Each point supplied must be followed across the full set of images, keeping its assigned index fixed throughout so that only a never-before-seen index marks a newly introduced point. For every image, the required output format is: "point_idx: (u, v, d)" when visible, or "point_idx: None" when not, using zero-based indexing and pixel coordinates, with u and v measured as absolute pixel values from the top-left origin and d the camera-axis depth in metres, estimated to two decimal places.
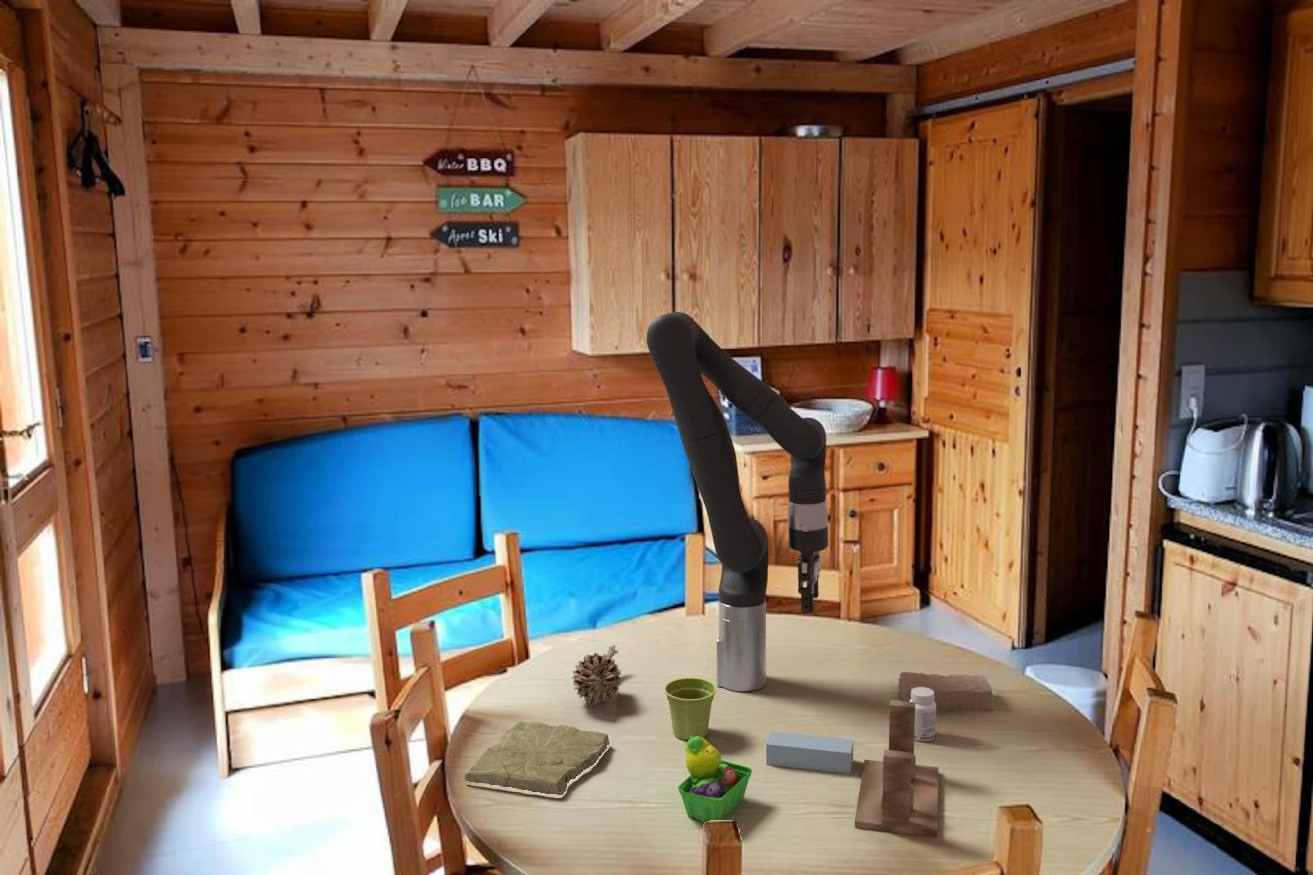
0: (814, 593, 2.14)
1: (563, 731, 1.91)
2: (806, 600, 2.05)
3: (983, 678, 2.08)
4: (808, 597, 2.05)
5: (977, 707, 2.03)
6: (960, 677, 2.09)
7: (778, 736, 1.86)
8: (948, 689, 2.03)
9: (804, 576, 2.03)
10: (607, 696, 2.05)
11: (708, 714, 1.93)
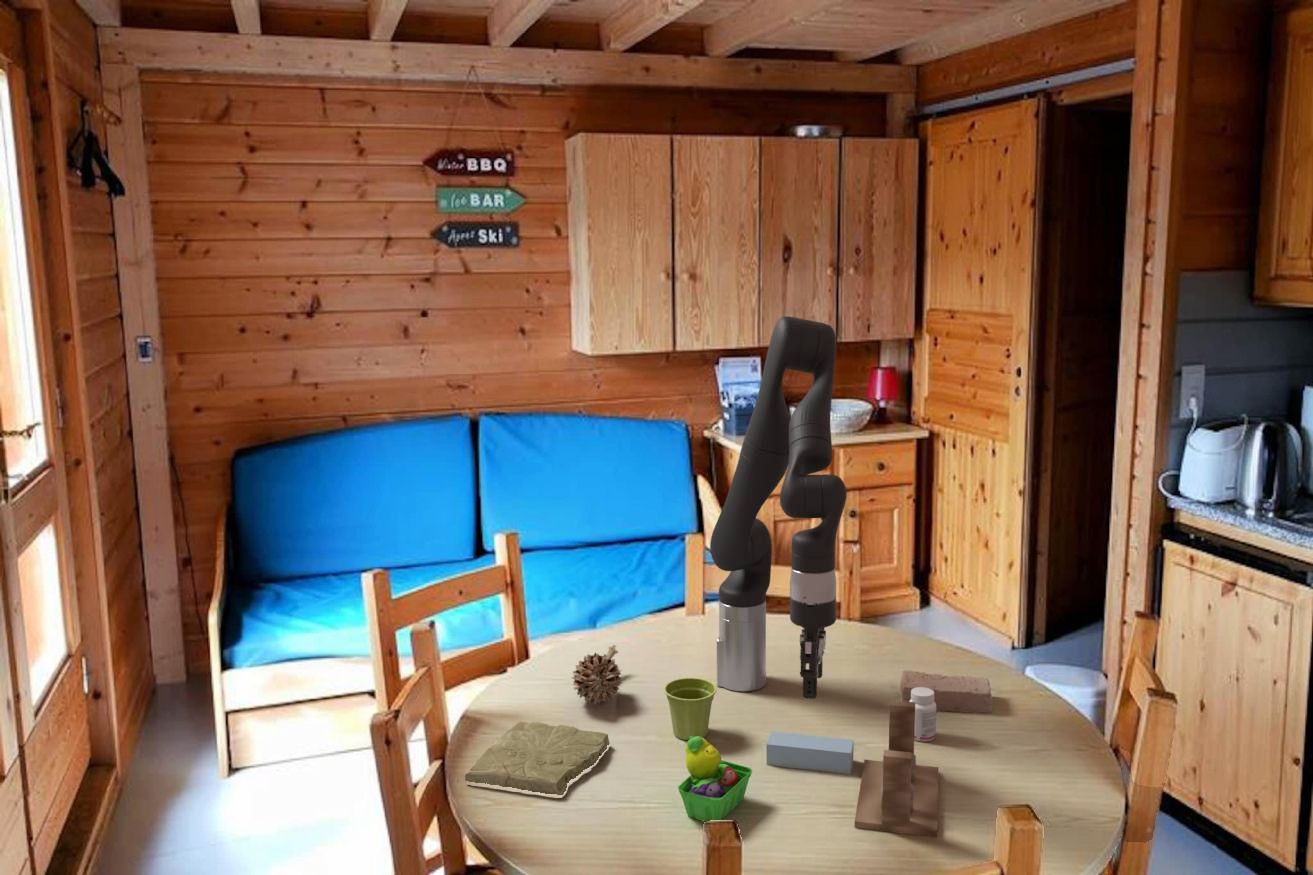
0: (817, 672, 1.85)
1: (563, 730, 1.91)
2: (809, 684, 1.77)
3: (985, 680, 2.07)
4: (811, 681, 1.76)
5: (975, 709, 2.02)
6: (962, 678, 2.08)
7: (778, 736, 1.86)
8: (946, 689, 2.03)
9: (808, 657, 1.74)
10: (607, 696, 2.05)
11: (708, 714, 1.93)
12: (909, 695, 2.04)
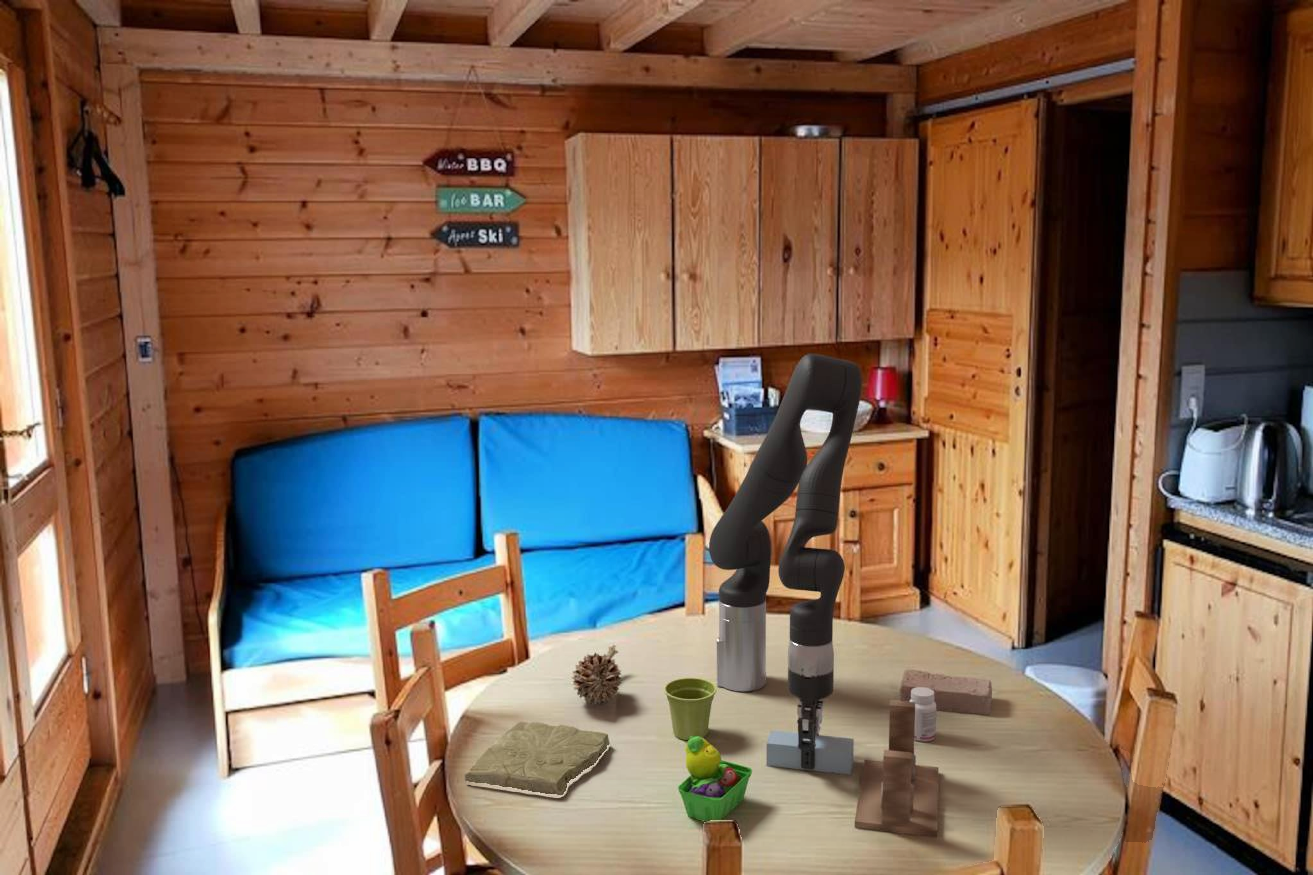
0: None
1: (563, 730, 1.91)
2: (807, 755, 1.80)
3: (987, 682, 2.06)
4: (809, 752, 1.80)
5: (972, 710, 2.02)
6: (964, 679, 2.08)
7: (778, 735, 1.86)
8: (944, 689, 2.03)
9: (805, 734, 1.77)
10: (607, 696, 2.05)
11: (708, 714, 1.93)
12: (907, 693, 2.05)
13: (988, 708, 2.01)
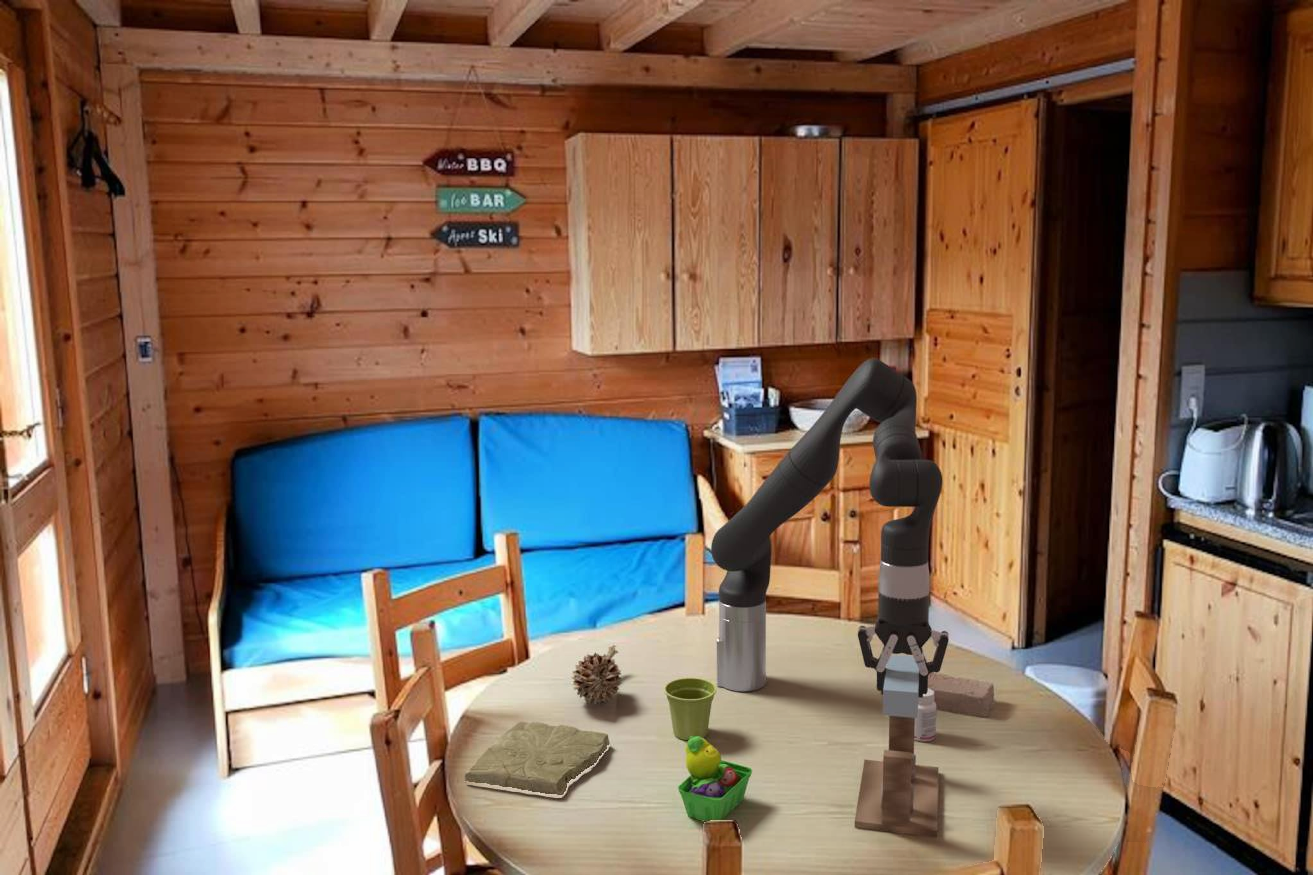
0: None
1: (564, 731, 1.91)
2: None
3: (988, 685, 2.05)
4: None
5: (969, 712, 2.01)
6: (966, 680, 2.07)
7: (908, 659, 1.73)
8: (941, 689, 2.03)
9: None
10: (607, 696, 2.05)
11: (708, 714, 1.93)
12: None
13: (984, 710, 2.00)
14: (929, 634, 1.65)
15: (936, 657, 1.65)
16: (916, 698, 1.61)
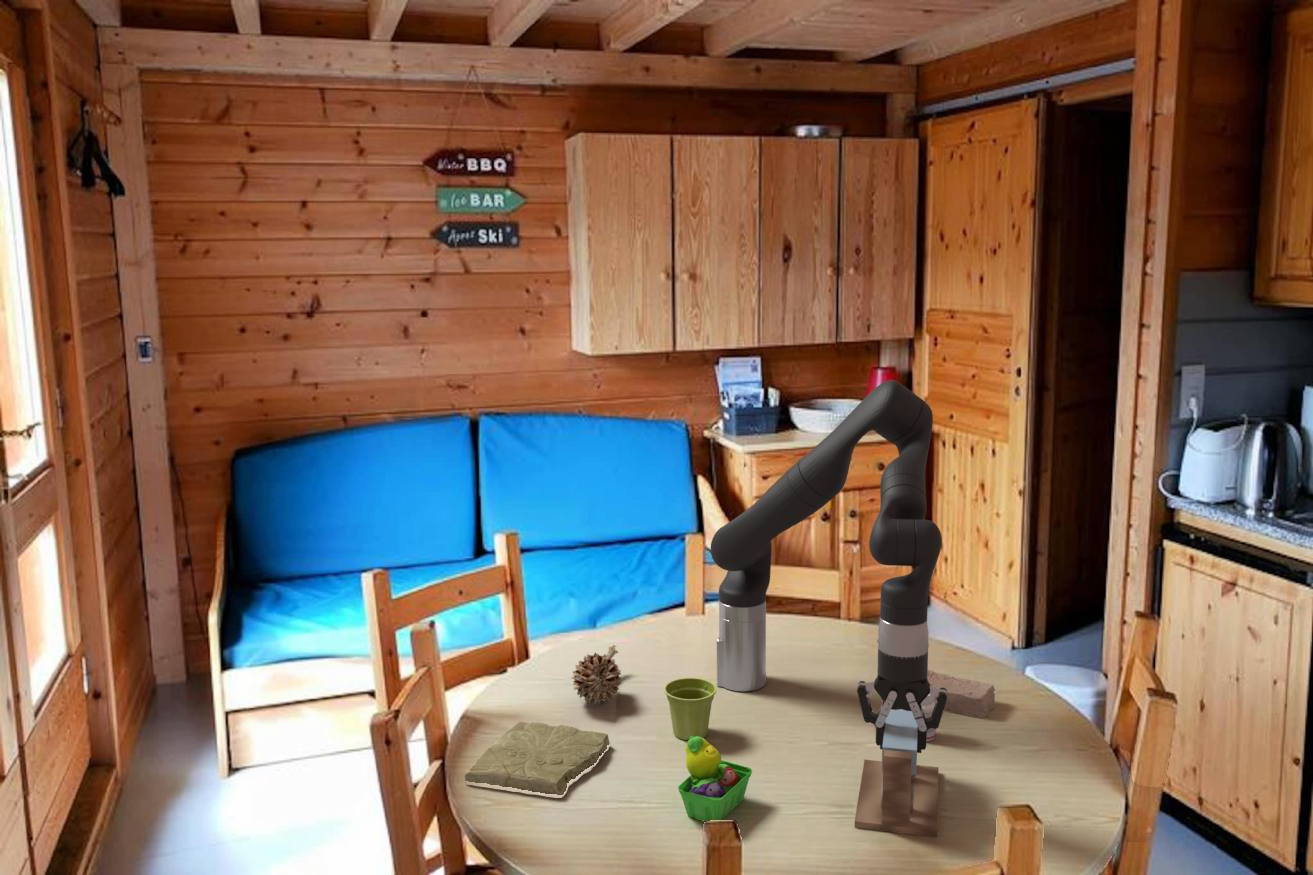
0: None
1: (564, 731, 1.91)
2: None
3: (988, 686, 2.04)
4: None
5: (966, 713, 2.01)
6: (967, 681, 2.07)
7: (907, 713, 1.75)
8: None
9: None
10: (607, 696, 2.05)
11: (708, 714, 1.93)
12: None
13: (982, 712, 2.00)
14: (928, 691, 1.67)
15: (935, 714, 1.67)
16: (915, 756, 1.63)
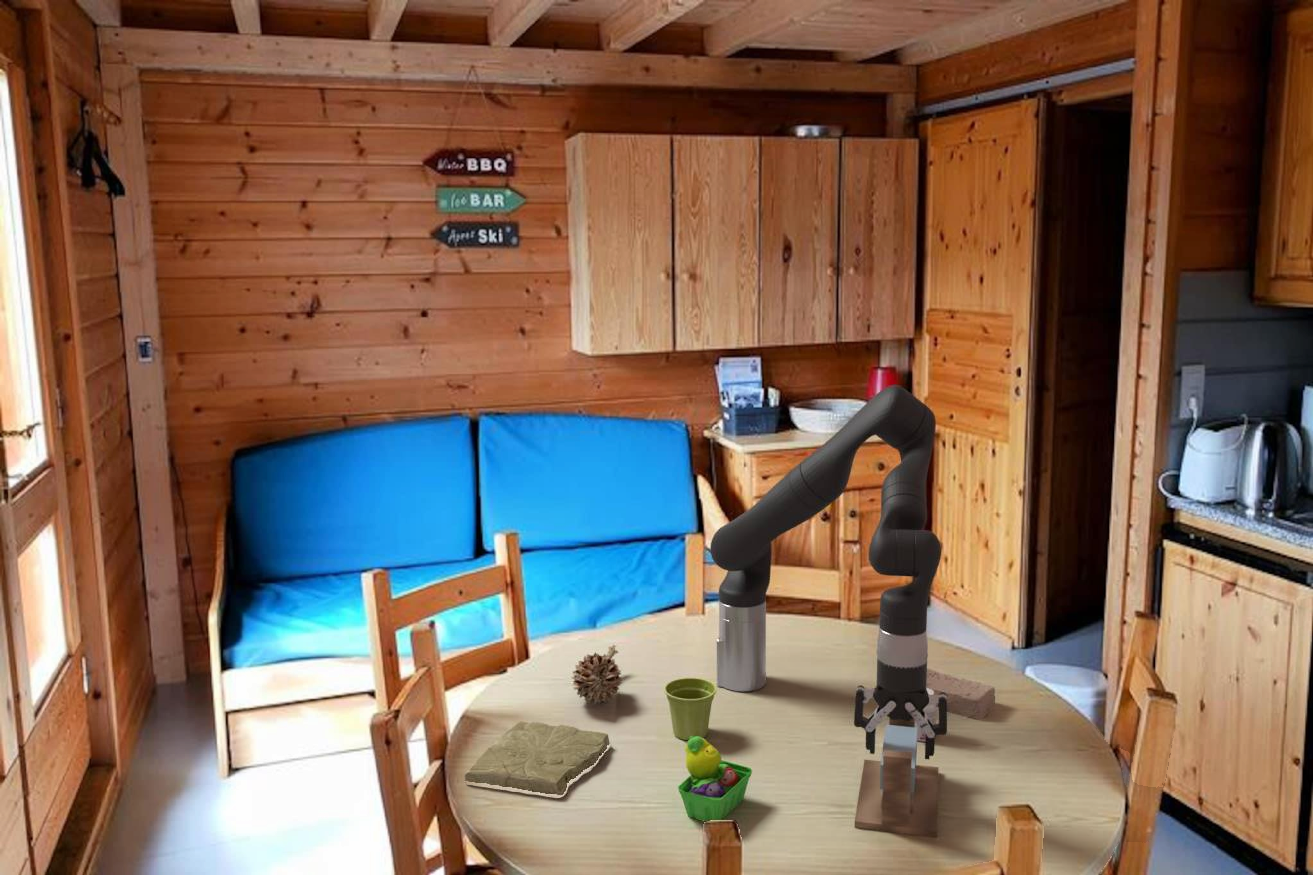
0: None
1: (564, 730, 1.91)
2: None
3: (988, 688, 2.03)
4: None
5: (963, 713, 2.01)
6: (968, 682, 2.06)
7: (906, 730, 1.75)
8: (938, 689, 2.04)
9: None
10: (607, 696, 2.05)
11: (708, 714, 1.93)
12: None
13: (978, 713, 1.99)
14: (927, 699, 1.67)
15: (940, 720, 1.67)
16: (913, 774, 1.63)
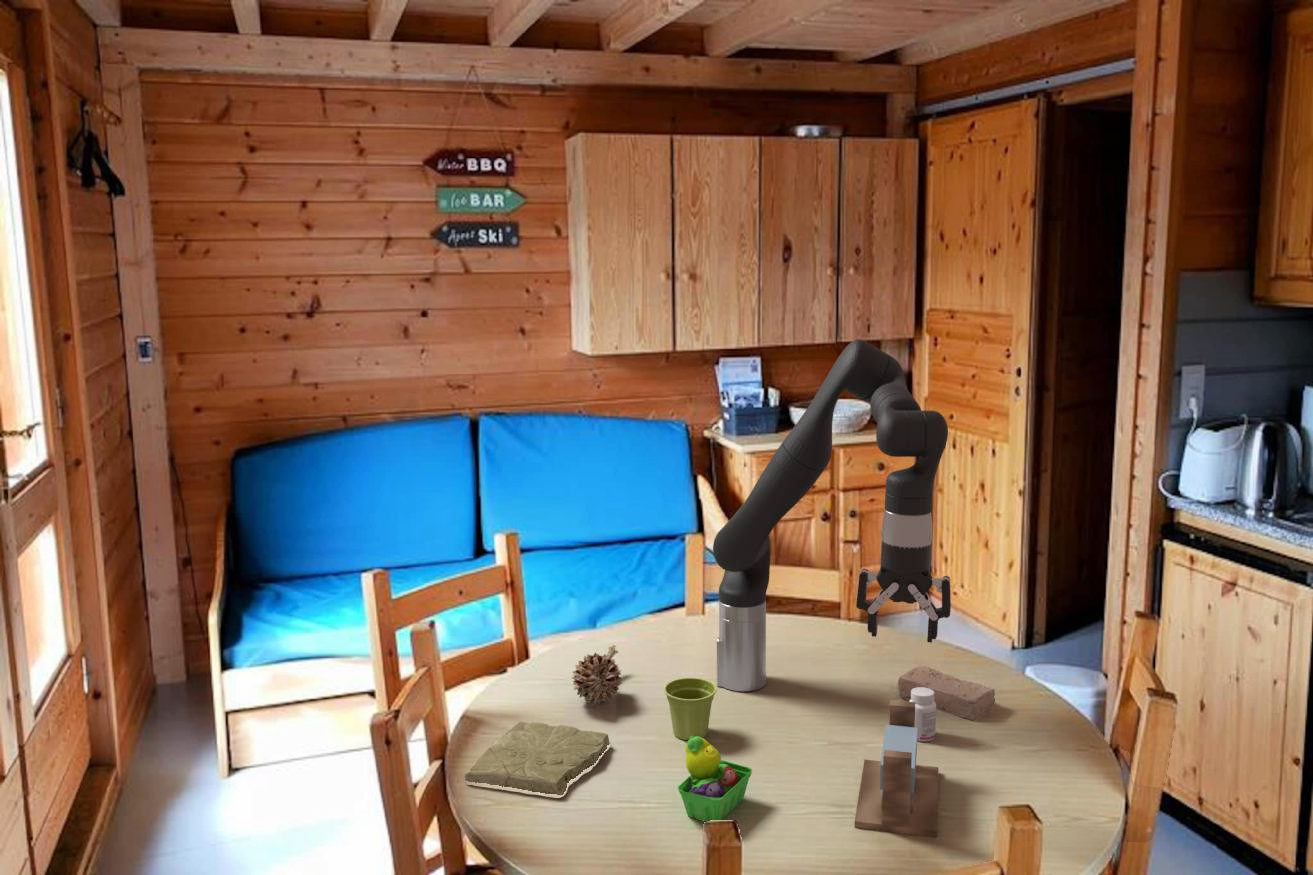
0: None
1: (564, 731, 1.91)
2: None
3: (987, 690, 2.02)
4: None
5: (959, 714, 2.00)
6: (968, 684, 2.06)
7: (906, 730, 1.75)
8: (936, 688, 2.04)
9: None
10: (607, 696, 2.05)
11: (708, 714, 1.93)
12: (903, 686, 2.08)
13: (973, 714, 1.99)
14: (930, 582, 1.68)
15: (943, 602, 1.67)
16: (913, 774, 1.63)
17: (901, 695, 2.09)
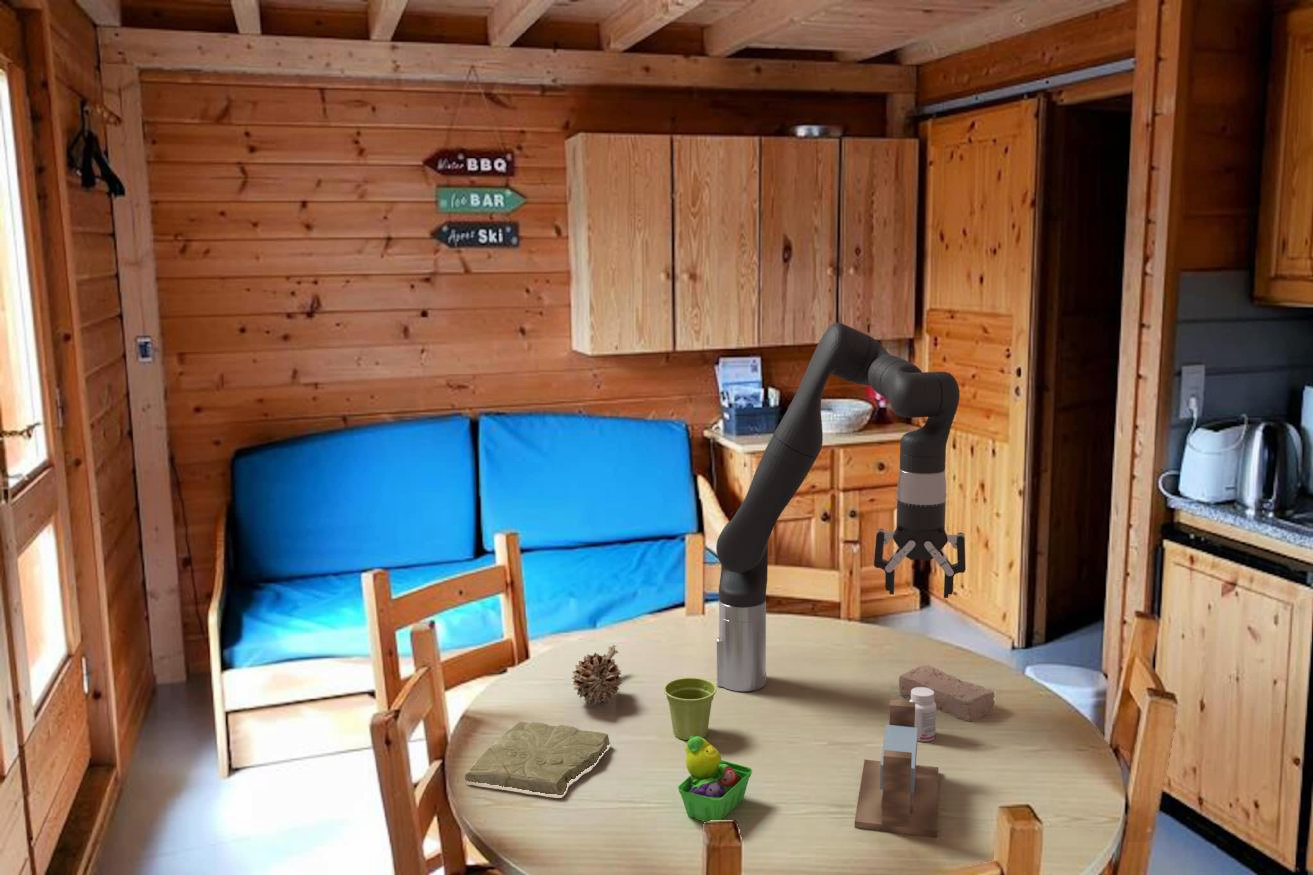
0: None
1: (564, 730, 1.91)
2: None
3: (985, 692, 2.02)
4: None
5: (955, 714, 2.00)
6: (969, 685, 2.05)
7: (906, 730, 1.75)
8: (934, 688, 2.04)
9: None
10: (607, 696, 2.05)
11: (708, 714, 1.93)
12: (903, 684, 2.09)
13: (969, 715, 1.98)
14: (945, 538, 1.73)
15: (958, 558, 1.73)
16: (913, 774, 1.63)
17: (901, 693, 2.10)
